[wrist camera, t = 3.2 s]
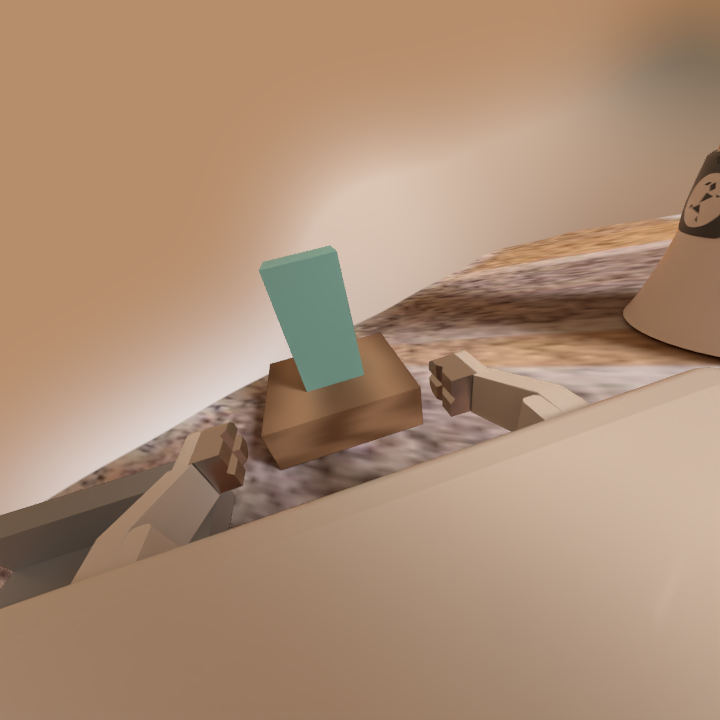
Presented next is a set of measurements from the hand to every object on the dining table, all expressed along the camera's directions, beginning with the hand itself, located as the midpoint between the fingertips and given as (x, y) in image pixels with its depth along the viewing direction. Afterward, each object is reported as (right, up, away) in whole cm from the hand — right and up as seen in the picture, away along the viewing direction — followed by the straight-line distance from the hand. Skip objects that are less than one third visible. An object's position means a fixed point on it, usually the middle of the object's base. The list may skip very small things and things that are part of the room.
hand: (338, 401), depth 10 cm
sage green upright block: (-1, 0, +12) cm, 12 cm away
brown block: (-1, -3, +14) cm, 15 cm away
